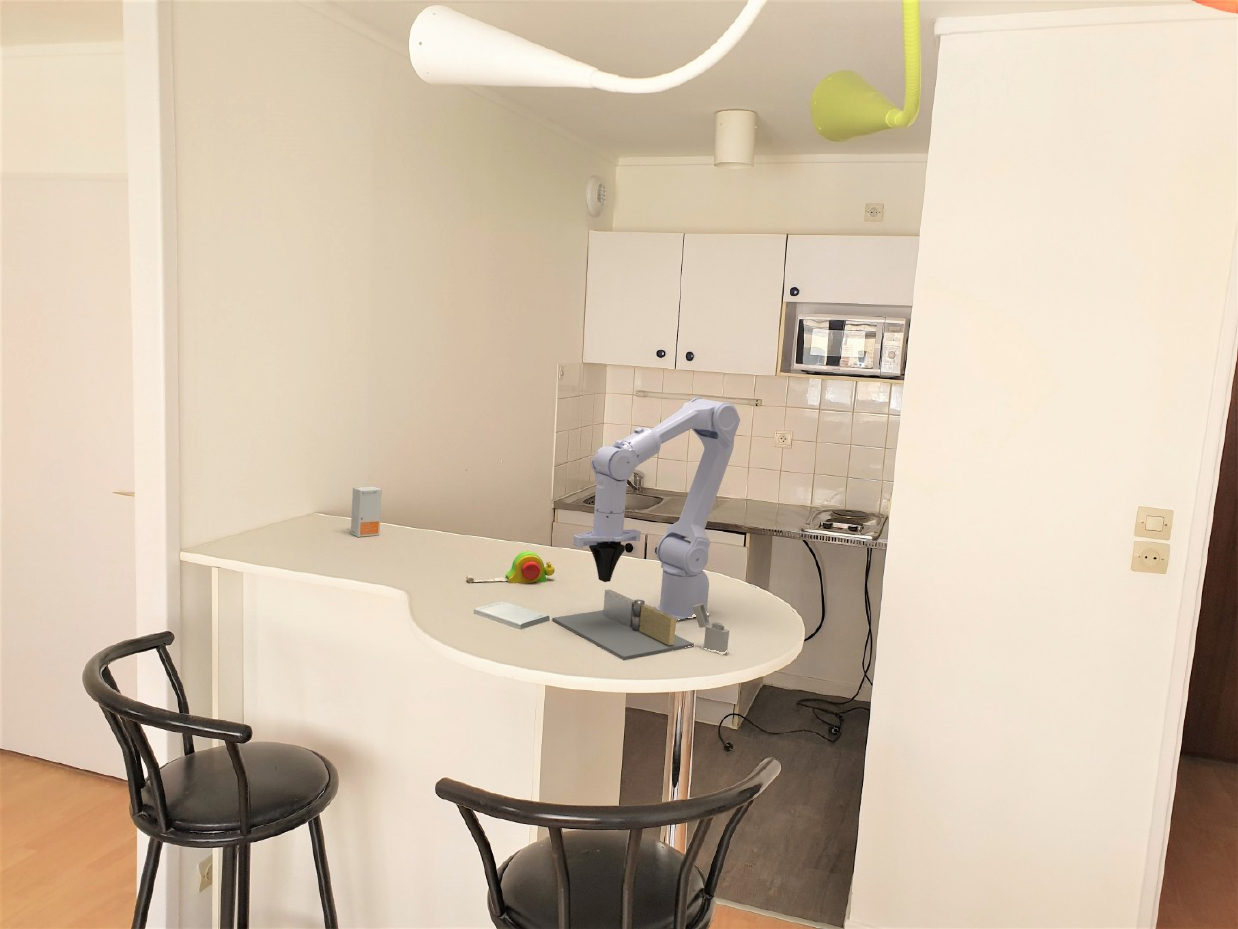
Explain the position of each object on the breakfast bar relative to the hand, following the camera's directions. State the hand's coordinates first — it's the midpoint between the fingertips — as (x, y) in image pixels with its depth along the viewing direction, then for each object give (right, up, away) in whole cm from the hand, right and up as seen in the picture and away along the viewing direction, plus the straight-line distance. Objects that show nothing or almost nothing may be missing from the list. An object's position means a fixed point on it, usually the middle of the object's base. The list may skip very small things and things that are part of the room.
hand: (604, 580), depth 177 cm
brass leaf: (+9, -10, -5) cm, 14 cm away
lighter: (+19, -12, -7) cm, 23 cm away
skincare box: (-61, +4, +58) cm, 85 cm away
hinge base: (+3, -10, -2) cm, 10 cm away
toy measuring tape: (-21, -4, +27) cm, 35 cm away
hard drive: (-18, -8, +3) cm, 20 cm away
